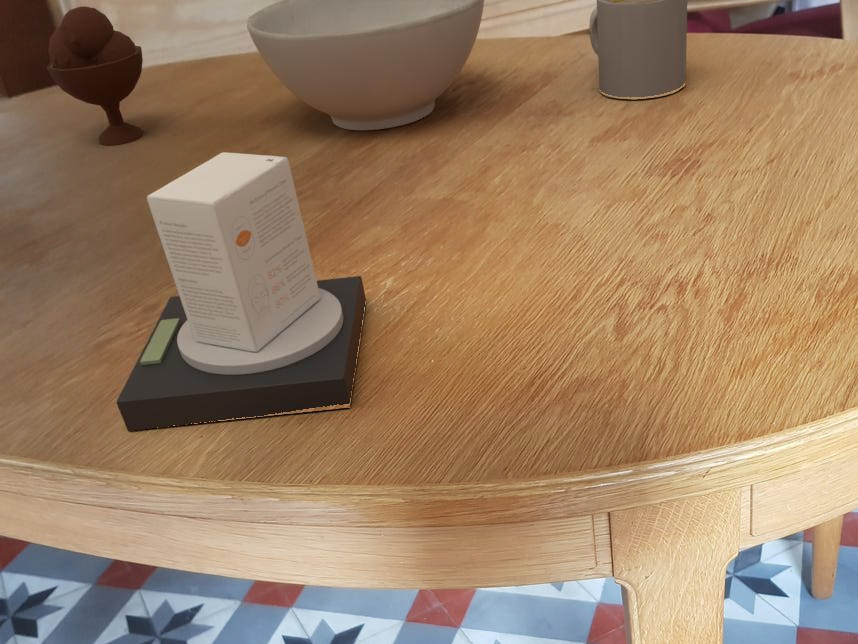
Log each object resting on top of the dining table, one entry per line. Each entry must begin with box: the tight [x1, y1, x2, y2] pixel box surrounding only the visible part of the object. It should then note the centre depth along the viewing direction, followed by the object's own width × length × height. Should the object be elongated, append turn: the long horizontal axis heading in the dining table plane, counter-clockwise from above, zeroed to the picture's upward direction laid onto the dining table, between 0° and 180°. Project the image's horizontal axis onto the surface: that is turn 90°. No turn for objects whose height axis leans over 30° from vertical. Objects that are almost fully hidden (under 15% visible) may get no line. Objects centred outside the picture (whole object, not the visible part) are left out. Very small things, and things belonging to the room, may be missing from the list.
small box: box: [146, 151, 320, 352], centre depth 63 cm, size 8×6×10 cm
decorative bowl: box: [246, 0, 485, 131], centre depth 110 cm, size 27×27×12 cm
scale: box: [115, 275, 367, 432], centre depth 67 cm, size 15×15×3 cm
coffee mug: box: [588, 0, 688, 98], centre depth 109 cm, size 13×10×10 cm
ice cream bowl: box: [46, 5, 145, 146], centre depth 113 cm, size 11×11×15 cm
